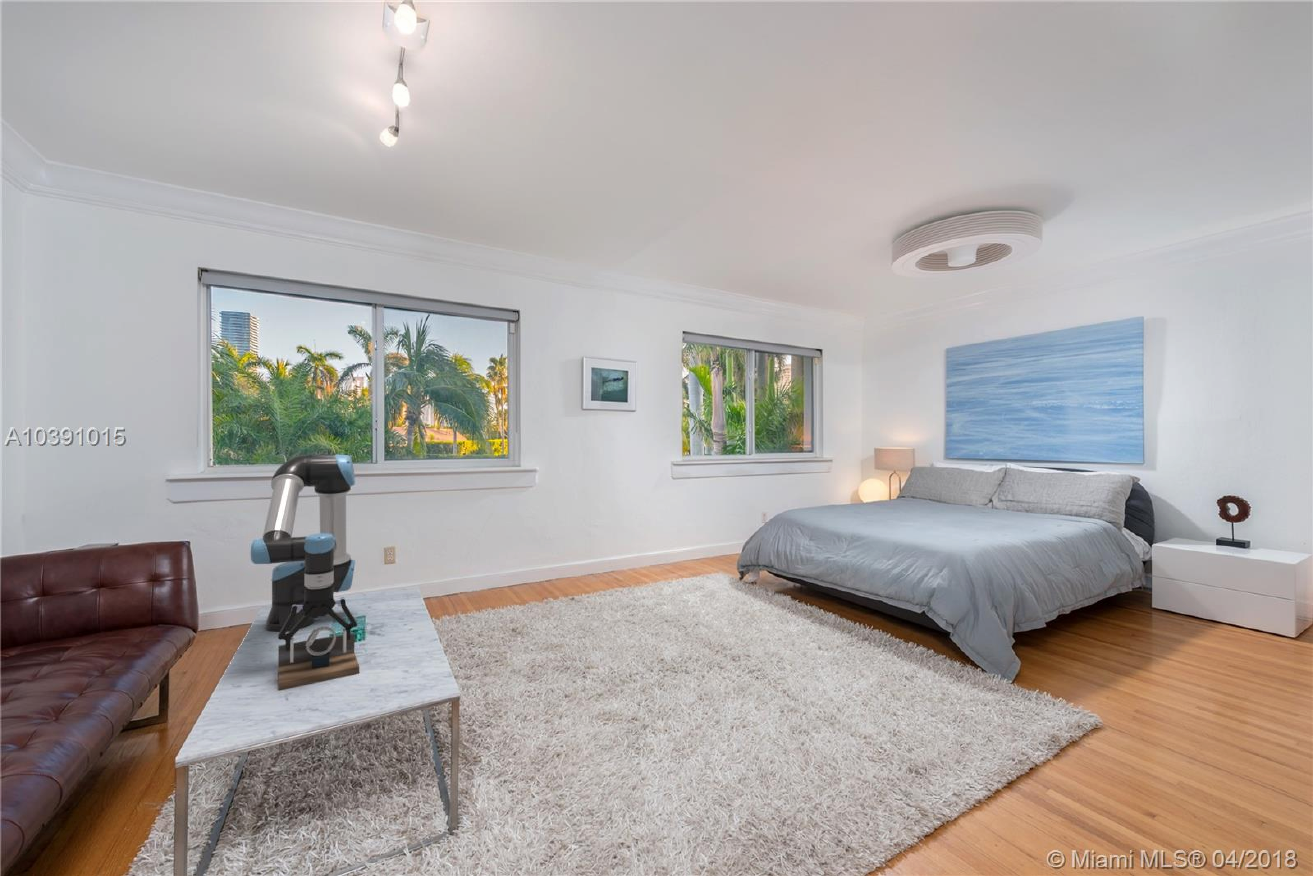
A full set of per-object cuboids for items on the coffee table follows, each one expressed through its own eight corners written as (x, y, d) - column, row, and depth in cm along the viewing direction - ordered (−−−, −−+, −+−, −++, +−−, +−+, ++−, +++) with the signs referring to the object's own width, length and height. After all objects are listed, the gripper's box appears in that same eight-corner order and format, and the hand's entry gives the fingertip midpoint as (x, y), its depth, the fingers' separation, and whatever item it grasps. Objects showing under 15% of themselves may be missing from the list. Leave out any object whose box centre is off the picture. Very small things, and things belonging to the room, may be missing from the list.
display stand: (278, 672, 165) (278, 645, 165) (353, 657, 176) (353, 632, 176) (278, 690, 154) (278, 661, 153) (359, 673, 165) (359, 646, 165)
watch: (305, 663, 167) (305, 627, 167) (336, 658, 170) (336, 623, 170) (304, 670, 162) (304, 633, 162) (335, 665, 166) (335, 629, 165)
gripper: (268, 595, 155) (268, 670, 156) (367, 582, 170) (366, 650, 170) (268, 589, 161) (268, 660, 162) (364, 577, 176) (363, 643, 176)
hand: (318, 655), depth 166 cm, fingers open, 13 cm apart
